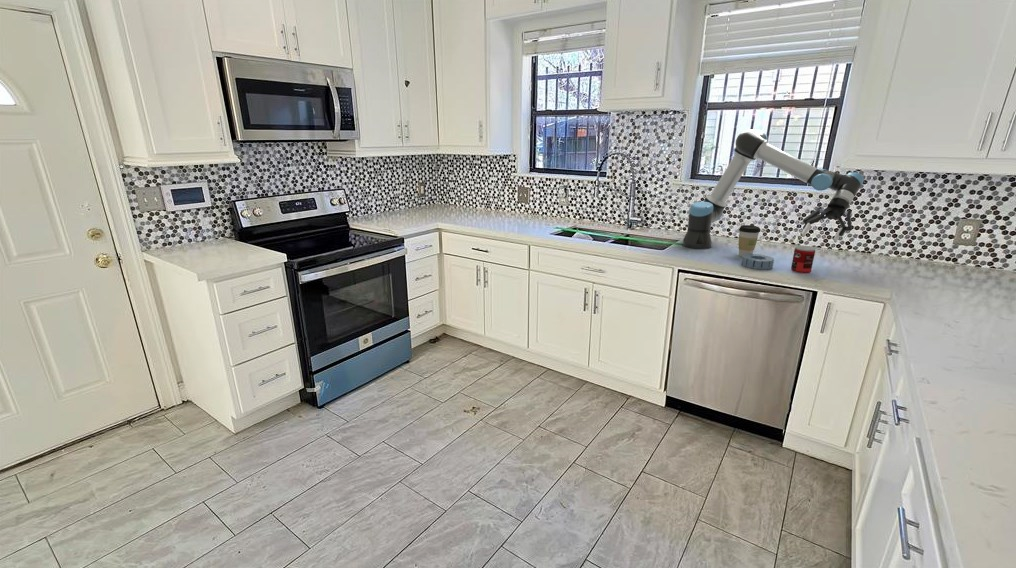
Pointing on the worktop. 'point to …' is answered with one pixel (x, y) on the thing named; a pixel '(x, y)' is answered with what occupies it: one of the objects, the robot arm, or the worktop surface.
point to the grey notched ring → (757, 261)
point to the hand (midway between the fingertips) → (818, 238)
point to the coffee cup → (747, 239)
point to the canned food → (803, 259)
